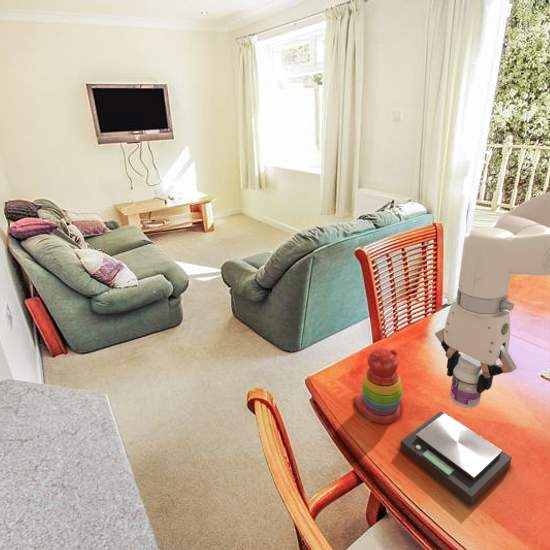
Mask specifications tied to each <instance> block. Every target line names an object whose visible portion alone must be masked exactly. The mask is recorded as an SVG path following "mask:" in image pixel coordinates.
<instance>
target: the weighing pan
mask: <svg viewBox="0 0 550 550" xmlns="http://www.w3.org/2000/svg"><path fill="white" fill-rule="evenodd" d="M443 413H444V412H443ZM416 437H417V438H418V439H419V440H421V441H422V442H423V443H425V444H426V445H427V446H429V447H430V448H431V449H433V450H434V451H435V452H437V453H438V454H439V455H441V456H442V457H443V458H445V459H446V460H447V461H449V462H450V463H451V464H453V465H454V466H455V467H457V468H458V469H459V470H461V471H462V472H463V473H465V474H466V475H467V476H469V477H470V478H471V479H472V480H475V479H476V478H477V477H478V476H479V475H480V474H481V473H482V472H483V471H484V470H485V469H486V468H487V467H488V466H489V465H490V464H491V463H492V462H493V461H494V460H496V459H497V458H498V457H499V456H500V455H501V454H502V451H503V450H502V449H501V448H499V447H498V446H496V445H495V444H493V443H491V442H490V441H489V440H487V439H485V438H484V437H483V436H481V435H480V434H478V433H476V432H475V431H473V430H471V429H470V428H468V427H467V426H465V425H463V424H462V423H461V422H459V421H458V420H456V419H454V418H453V417H452V416H450V415H448V414H446V413H444V414H443V415H441V416H440V417H439V418H437V419H436V420H435V421H433V422H432V423H431V424H429V425H428V426H427V427H425V428H424V429H423V430H421V431H420V432H419V433H417V434H416Z"/></svg>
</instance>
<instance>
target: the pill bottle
mask: <svg viewBox="0 0 550 550" xmlns="http://www.w3.org/2000/svg"><path fill="white" fill-rule="evenodd" d="M480 374H482V368H481V362H480V361H478V360H476V359H474V358H472V357H470V356H468V355H466V354H461V356H460V357H459V361H458V364H457V365H456V366H455V367H454V370H453V376H451V377H452V378H451V385H450V395H449V397H450V400H451V401H452V402H453V403H454V404H455V405H456V406H458V407H460V408H461V409H470V410H471V409H475V408H477V407H478V406H479V405H480V403H481V397H482V393H481V394H480V393H478V392H477V385H478V379H479V375H480Z"/></svg>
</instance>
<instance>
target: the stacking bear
mask: <svg viewBox="0 0 550 550" xmlns="http://www.w3.org/2000/svg"><path fill="white" fill-rule="evenodd" d="M397 356H398V351H397V350H396V349H394V348H393V349H391V350H390V349H388V348H386V347H380V348H377V349H374V350H373V351H372V352H371V353H369V354H368V355H367V358H366V359H367V364H368V368H367V370H366V373H365V375H364V378H363V381H362V385H361V393H362V394H359V395H357V396H356V398H355V400H354V404H355V407H356V408H357V410H358V411H359V412H360V413H361V414H362V415H363V416H364V417H365V418H366V419H368V420H370V421H372V422H374V423H377V424H383V425H385V424H386V425H387V424H392V423H394V422H396V421H397V420H398V419H399V418H400V416H401V402H402V398H403V385H402V380H401V376H400V374H399V372H397V370H398V367H399V360H398V359H399V358H398V357H397Z"/></svg>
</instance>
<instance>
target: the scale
mask: <svg viewBox="0 0 550 550" xmlns="http://www.w3.org/2000/svg"><path fill="white" fill-rule="evenodd" d="M443 414H444V412H443V411H441V410H440V411H439V412H438V413H437V414H435V415H433V416H432V417H431V418H430V419H428V420H427V421H425V422H424V423H423V424H421V425H420V426H419V427H418V428H416V429H415V430H414V431H412V432H411V433H410V434H408V435H407V436H405V437H404V438H403V439H401V441H400V448H399V449H400V452H402V453H403V454H404V455H406V457H408V458H409V459H410V460H411V461H413V462H414V463H415V464H416V465H418V466H419V467H420V468H421V469H422V470H424V471H425V472H426V473H427V474H429V475H430V476H431V477H432V478H434V479H435V480H436V481H437V482H438V483H440V484H441V485H442V486H443V487H445V488H446V489H447V490H448V491H450V492H451V493H452V494H453V495H454V496H456V497H457V498H458V499H459V500H461V501H462V502H463V503H464V504H466V506H468V507H469V508H470V507H472V505H474V504H475V502H476V501H477V500H479V499H480V498H481V496H483V495H484V493H486V491H488V489H489V488H491V486H493V484H494V483H496V481H497V480H498V479H500V477H501V476H502V475H504V473H506V472H507V470H509V468H510V467H511V463H512V460H513V457H512V456H510V455H509V454H507V453H506V452H505V451H503V450H502V454H501V455H500V456H499V457H498V458H497V459H496V460H494V461H493V462H492V463H491V464H490V465H489V466H488V467H487V468H486V469H485V470H484V471H483V472H482V473H481V474H480V475H479V476H478V477H477V478H476V479H475V480H472V479H471V478H470V477H469V476H467V475H466V474H465V473H463V472H462V471H461V470H459V469H458V468H457V467H455V466H454V465H453V464H451V463H450V462H449V461H447V460H446V459H445V458H443V457H442V456H441V455H439V454H438V453H437V452H435V451H434V450H433V449H431V448H430V447H429V446H427V445H426V444H425V443H423V442H422V441H421V440H419V439H418V438H417V437H416V434H417V433H419V432H420V431H421V430H423V429H424V428H425V427H427V426H428V425H429V424H431V423H432V422H433V421H435V420H436V419H437V418H439V417H440V416H441V415H443Z"/></svg>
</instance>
